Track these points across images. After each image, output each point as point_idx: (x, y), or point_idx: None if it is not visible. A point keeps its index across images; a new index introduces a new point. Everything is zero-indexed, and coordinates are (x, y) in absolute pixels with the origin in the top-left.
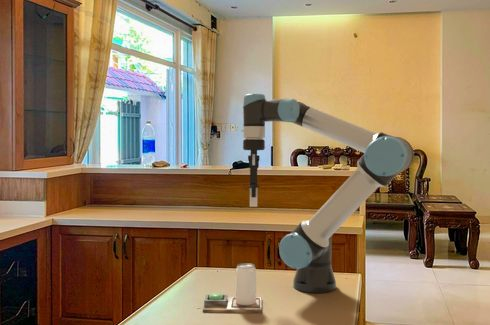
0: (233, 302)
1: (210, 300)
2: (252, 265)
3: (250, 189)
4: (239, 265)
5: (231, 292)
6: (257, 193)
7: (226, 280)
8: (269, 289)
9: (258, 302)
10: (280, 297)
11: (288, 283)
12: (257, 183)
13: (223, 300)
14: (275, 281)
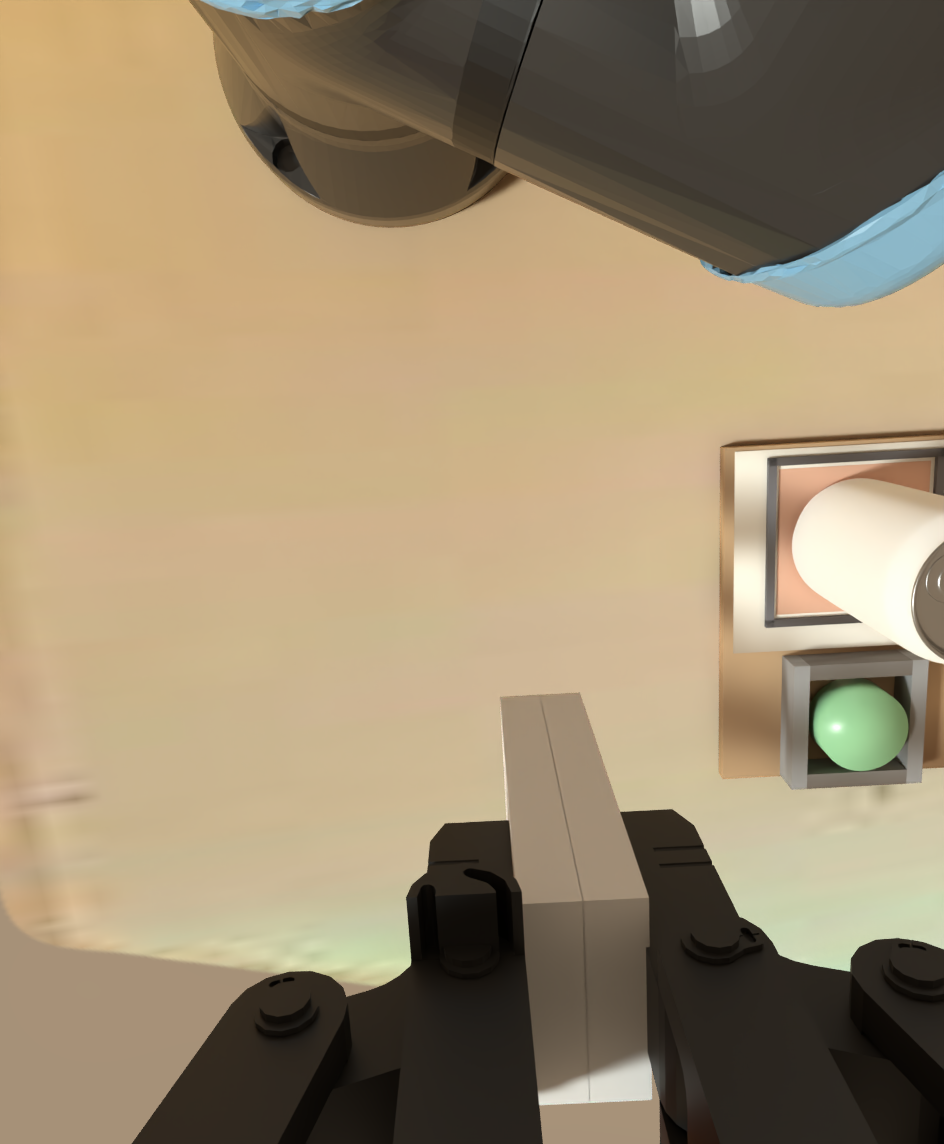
0: (842, 614)
1: (921, 748)
2: (939, 546)
3: (647, 1048)
4: (939, 650)
5: (577, 648)
6: (555, 815)
7: (305, 711)
8: (486, 404)
9: (839, 462)
10: (663, 322)
11: (317, 266)
12: (308, 996)
13: (921, 674)
14: (278, 368)
